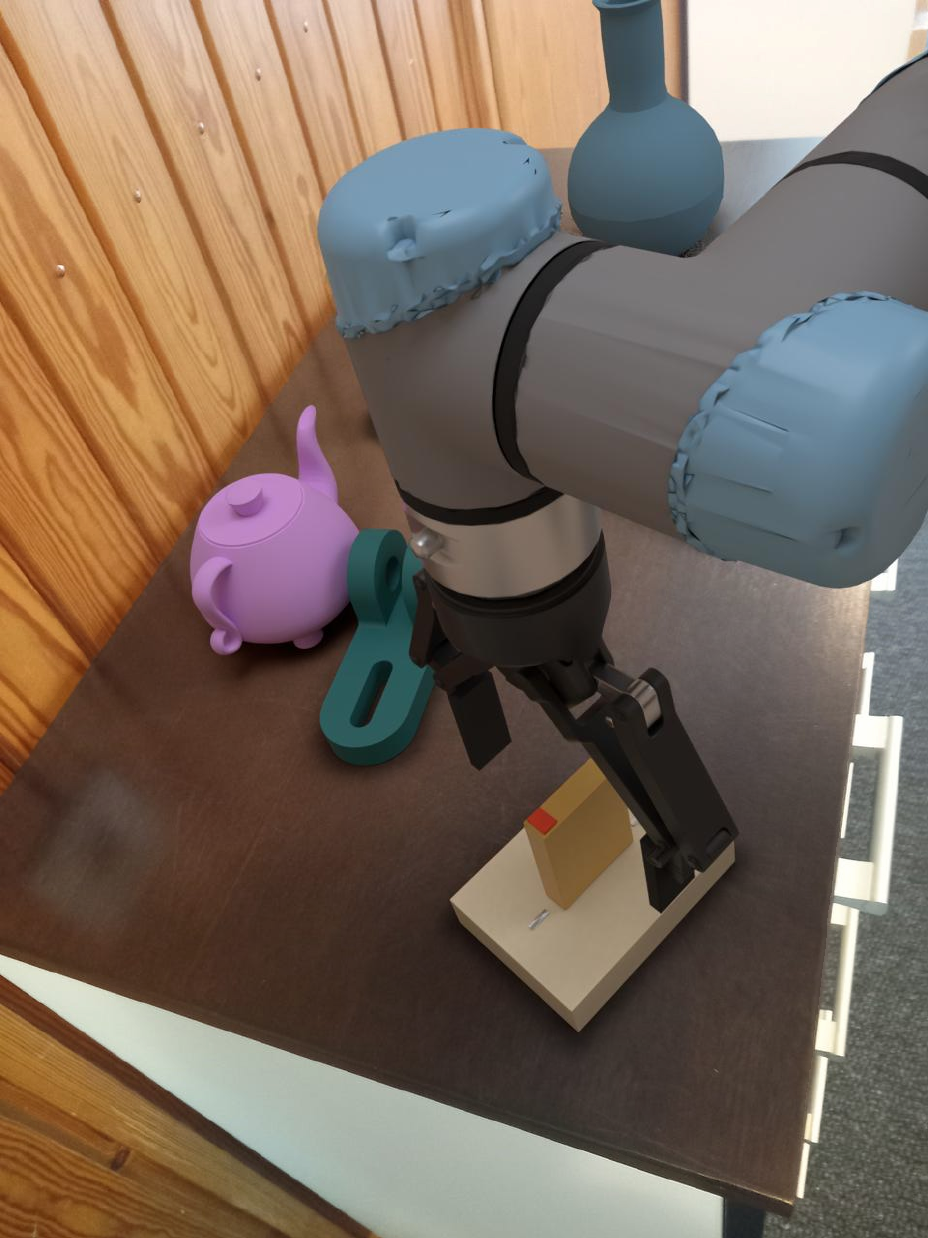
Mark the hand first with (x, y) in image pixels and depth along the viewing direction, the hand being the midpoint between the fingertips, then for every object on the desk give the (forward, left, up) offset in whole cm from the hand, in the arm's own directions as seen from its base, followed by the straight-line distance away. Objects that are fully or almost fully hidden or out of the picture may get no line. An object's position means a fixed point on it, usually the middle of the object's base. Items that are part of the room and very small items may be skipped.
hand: (575, 817), depth 57 cm
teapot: (+37, -4, -9) cm, 38 cm away
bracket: (+24, -4, -9) cm, 26 cm away
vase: (+48, -62, -9) cm, 79 cm away
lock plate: (0, 0, -8) cm, 8 cm away
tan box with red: (0, 0, -5) cm, 5 cm away
